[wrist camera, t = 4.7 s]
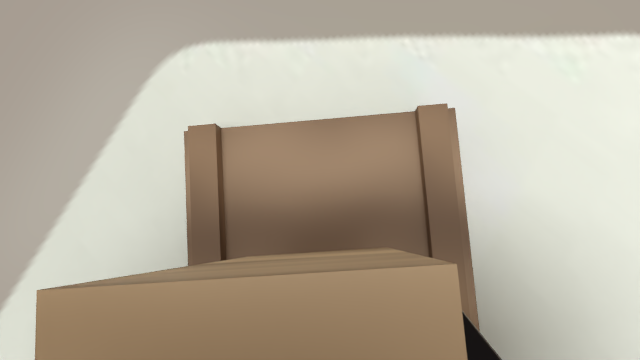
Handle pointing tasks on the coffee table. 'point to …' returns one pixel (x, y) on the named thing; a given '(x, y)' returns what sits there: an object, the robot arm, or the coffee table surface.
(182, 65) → the coffee table surface
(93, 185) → the coffee table surface
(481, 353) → the robot arm
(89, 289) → the oak mallet
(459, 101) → the coffee table surface
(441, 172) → the walnut shelf lane
